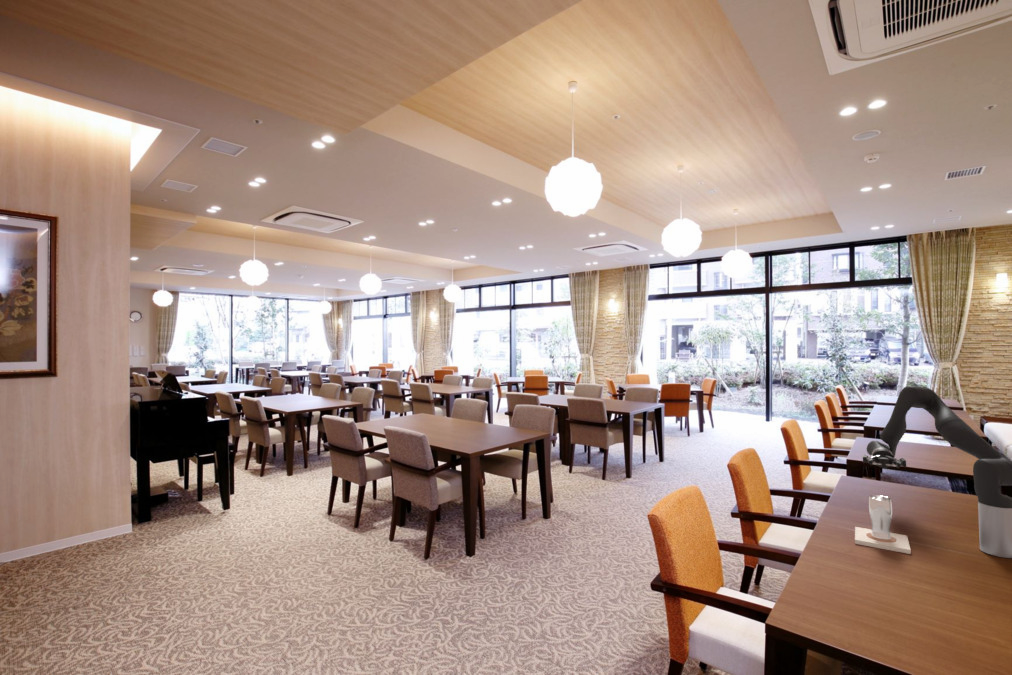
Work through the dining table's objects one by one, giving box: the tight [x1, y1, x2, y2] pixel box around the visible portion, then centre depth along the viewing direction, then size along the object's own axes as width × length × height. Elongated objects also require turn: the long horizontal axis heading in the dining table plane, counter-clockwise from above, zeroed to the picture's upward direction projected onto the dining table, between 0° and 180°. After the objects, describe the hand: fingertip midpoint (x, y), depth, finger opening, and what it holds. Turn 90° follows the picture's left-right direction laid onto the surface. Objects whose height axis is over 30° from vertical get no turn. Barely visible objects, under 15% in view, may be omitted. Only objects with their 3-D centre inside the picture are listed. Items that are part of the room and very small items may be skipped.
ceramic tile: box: [854, 526, 912, 555], centre depth 179 cm, size 16×16×2 cm
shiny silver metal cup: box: [868, 494, 893, 540], centre depth 180 cm, size 7×7×15 cm
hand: (884, 464), depth 194 cm, fingers open, 8 cm apart
